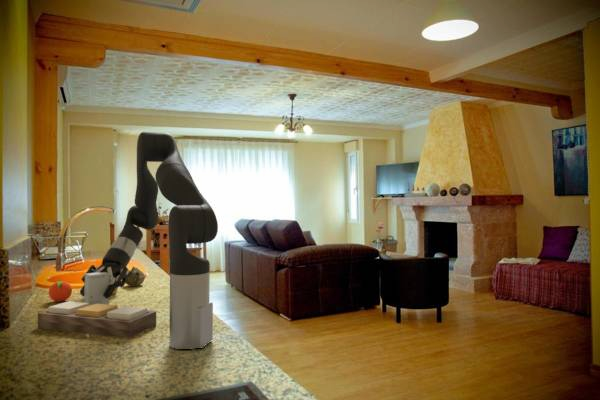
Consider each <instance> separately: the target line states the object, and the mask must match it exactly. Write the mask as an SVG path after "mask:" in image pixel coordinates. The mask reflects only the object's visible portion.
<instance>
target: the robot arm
mask: <svg viewBox="0 0 600 400" xmlns="http://www.w3.org/2000/svg"><path fill="white" fill-rule="evenodd" d="M151 162H156V163H160V164H159V166H158V167H157V169H156V172H155V177H154V176H153V174H152V172H151V171H150V169H149V167H148V163H151ZM159 191H160V194H161V195H162V196H163V198H165V199H166V200H167V201H169V202H170V203H172V204H173V206H172V207H171V209H170V210H169V213H168V214H169V215H168V222H167V223H168V224H167V225H168V226H167V227H168V243H169V244H168V245H169V247H168V248H169V347H170V348H171V347H172V348H171V349H174V348H175V350H178V349H191V348H201V347H203V346H204V345H205V344H207V343H208V342H210V341H211V340H213V335H214V334H213V333H214V332H213V331H214V329H213V323H214V322H213V321H214V320H213V319H214V313H213V312H214V308H213V307H214V305H213V302H211V301H210V282H211V281H210V280H211V279H210V278H211V277H210V276H211V275H210V272H211V271H210V269H211V268H210V267H211V266H210V260H209V259H207V258H204V257H202V256H201V257H200V256H197V255H194V254H193V253H191V252H190V251H188V247H187V245H191V244H193V245H194V244H195V245H196V244H205V243H210V242H212V241H214V239H216V238H217V235H218V229H219V224H218V220H217V216H216V213H215V211H214V209H213V207H212V206H211V205H210V204H209V202H208V200H206V199H205V197H204V196H203V194H202V192H200V190H199V189H198V187H197V184H195V181H194V179H193V177H192V174H191V172H190V171H189V169H188V168H187V166H186V164H185V163H184V161H183V158H182V157H181V154H180V152H179V149H178V146H177V143H176V141H175V138H174V136H173V135H172V134H171V133H168V132H158V131H142V132H140V133H139V135H138V137H137V141H136V189H135V196H134V205H132V206H131V207H130V208H129V209H128V210H127V214H126V218H125V222H124V225H123V228H122V230H121V231H120V233H119V234H118V236H117V237H116V239H115V240H114V241H113V243H112V244H111V245H110V246H109V249H108V250H107V252H106V253H105V255H104V256H103V257H102V260H101V264H100V265H98V266H95V265H94V264H93V265H92V264H91V265H90V267H89V268H88V270H87V271H86V273H97V272H106V273H109V281H110V284H111V285H108V287H107V289H106V290H105V292H104V294H103V296H104V297H105V298H111V297H112V296H113V295H114V294H113V292H114V290H115V289H116V288H119V287H120V288H123V287H124V286H125V284H126V283H125V282H126V280H127V278H128V276H129V274H130V269H129V268H128V267H127V266H128V264H129V263H130V261H131V260H132V258H133V257H134V255H135V251H136V250H137V247H139V245H140V243H141V241H142V239H143V237H144V233H143V232H142V230H141V229H144V230H147V231H150V230H153V229H155V228H156V227H157V225H158V222H159V212H158V205H157V199H158V194H159ZM138 227H139V228H138ZM140 228H141V229H140ZM86 273H85V274H86ZM85 274H84V275H83V276H82V278H81V281H82V282H83V286H82V287H81V289H80V290H79V294H80V295H81V296H82V297H84V289H85ZM119 275H120V276H119ZM117 276H119V278H118V279H117ZM112 294H113V295H112ZM203 348H204V347H203Z"/></svg>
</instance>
